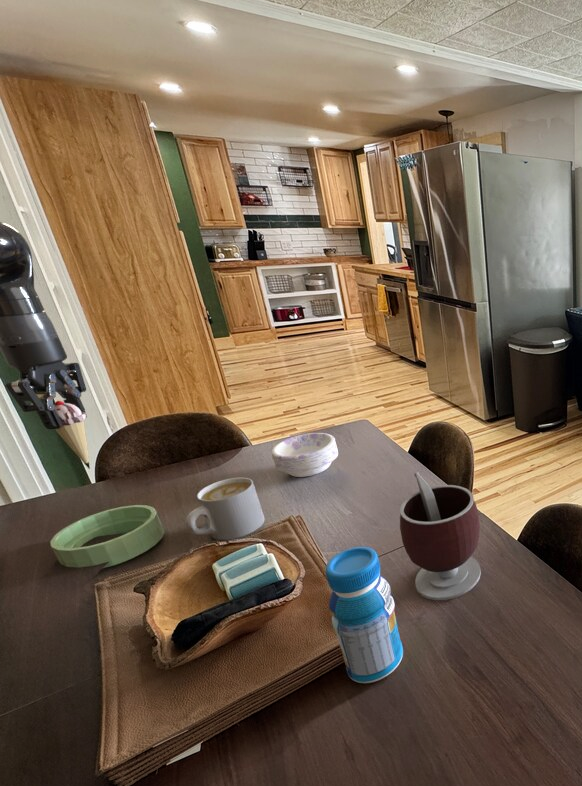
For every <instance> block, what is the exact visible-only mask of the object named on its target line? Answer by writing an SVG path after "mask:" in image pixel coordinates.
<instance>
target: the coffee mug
mask: <svg viewBox="0 0 582 786" xmlns="http://www.w3.org/2000/svg"><path fill="white" fill-rule="evenodd" d="M196 499H197V501H198V504H199V507H196V508H195V509H193V510H192V511H190V512H189V513H188V514H187V515H186V518H185V524H186V528H187V529H188V531H189V532H190V533H191V534H193V535H195V536H204V535H211V537H212V538H213V539H214V540H217V541H230V540H234V539H239V538H242V537H244V536H247V535H250V534H252V533H254V532H255V531H257V530H258V529H259V528H261V527H262V526H263V524H264V523H265V521H266V519H265V518H266V517H265V515H264V512H263V509H262V506H261V503H260V499H259V496H258V493H257V490H256V487H255V484H254V481H253V480H252V479H251V478H248V477H232V478H226V479H222V480H219V481H216V482H213V483H211V484H208V485H207V486H204V487H203V488H202V489H201V490H199V491H198V493H197V494H196ZM200 516H203V517H204V519H205V522H204V524H203V526H202V527H198V526H197V519H198V518H199V517H200Z"/></svg>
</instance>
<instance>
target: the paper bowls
mask: <svg viewBox="0 0 582 786" xmlns="http://www.w3.org/2000/svg"><path fill="white" fill-rule="evenodd" d="M338 449H339V448H338V446H337V443H336V438H335V437H334V435H331V434H329V433H326V432H310V433H304V434H298V435H294V436H292V437H288V438H286V439H284V440H281V441H280V442H278V443H276V444H275V445H274V446H273V447H272V449H271V456H272V459H273V463H274V466H275V469H276V470H277V471H278V472H282V473H287V474H288V475H290V476H292V477H296V478H305V477H311V476H316V475H318V474H320V473H323V472H324V471H326V470H327V469H329V467H330V466H331V464H332V463H333V462H334V460H336V459H337V458H338V456H339V450H338Z"/></svg>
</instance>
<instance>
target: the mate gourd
mask: <svg viewBox="0 0 582 786" xmlns="http://www.w3.org/2000/svg"><path fill="white" fill-rule="evenodd" d="M413 476H414V477H415V478H416V479H415V480H416V482H417V486H418V489H419V490H418V491H415V492H414V493H412V494H410V495H409V496H408V497H407V498H405V500H403V502H402V503H401V505H400V508H399V512H400V513H399V530H400V537H401V541H402V545H403V547H404V550H405V552H406V555H407V556H408V557H409V559H410V561H411V562H412V564H414V565H416V566H417V567H419V568H421V569H420V570H419V571H418V573H416V577H415V581H414V582H415V583H414V584H415V589H416V591H417V593H418V594H419V595H420V596H421V597H423V598H425V599H427V600H431V601H447V600H453V599H455V598H458V597H460V596H463V595H465V594H466V593H468V592H470V591H471V590H472V589H473V588H475V586H476V585H477V584H478V583H479V580H480V579H481V575H482V573H481V572H482V571H481V566H480V565H481V564H480V563H479V562H478V560H477V559H475V558H474V557H472V555H473V554H474V552H475V551H476V549H477V548H478V545H479V539H480V530H481V529H480V528H481V526H480V525H481V524H480V516H479V514H480V513H479V510H478V506H477V504H476V501H475V499H474V498H475V497H474V495H473V492H472V491H471V490H469V489H468V488H467V487H464V486H460V485H454V484H441V485H435V486H430V485H429V484H428V483H427V481H426V480H425V479H424V478H423V477H422V476H421V475H420V473H419V472H418V471H416V472H415V473H414V474H413Z"/></svg>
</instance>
